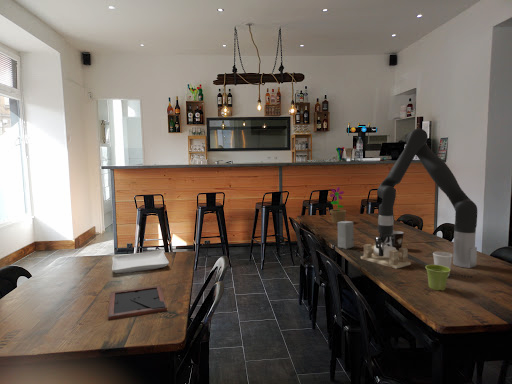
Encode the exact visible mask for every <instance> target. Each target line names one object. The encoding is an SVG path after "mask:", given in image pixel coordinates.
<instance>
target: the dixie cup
mask: <svg viewBox="0 0 512 384" xmlns="http://www.w3.org/2000/svg"><path fill="white" fill-rule="evenodd" d="M432 256H433V265H441V266H445V267H448V268H450V269H451V267H452V263H453V253H451V252H447V251H434V252H432ZM450 273H451V271H450V272H449V274H448V277H449V276H450Z"/></svg>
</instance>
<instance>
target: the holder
mask: <svg viewBox="0 0 512 384" xmlns="http://www.w3.org/2000/svg"><path fill="white" fill-rule="evenodd" d="M375 245H376V243H375V242H373V243H372V244H371V243H367V244H363V255H362V256H361V255H360V259H361V260H365V261H368V262H371V263H373V264H378V265H381V266H385V267H388V268H393V269H400V268H403V267H407V266H410V265H411V264H412V262H411V261H408V251H409V250H408V249H409V248H406V247H401V248H399V250H391V251H389V258H387V257H381V256H379V255H375V254H374V251H372V246H375ZM398 252H401V253H402V254H403V255H402V257H401V258H400V257H398Z"/></svg>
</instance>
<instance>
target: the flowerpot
mask: <svg viewBox="0 0 512 384" xmlns="http://www.w3.org/2000/svg"><path fill="white" fill-rule="evenodd" d="M340 189H341V188H340V187H339V186H338V187H336V190H335V189H334V188H331V189H330V190H331V192H332V193H331V194H330V195H329V198H330V197H331V198H333V197H334V198H333V201H331V202H330V204H331V205H334V206H335V205H337V208H336V209H330V210H329V214H330V216H331V217H330V218H331V223H332V224H337V225H338V223H337V222H341V221H346V220H345V219H346V214H347V212H348V211H347V209H341V208H344V205H341V204H339V203H340V200H343V197H342V196H341V195H344V193H345V192H344V191H343V190H342V191H340Z"/></svg>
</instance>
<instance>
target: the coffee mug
mask: <svg viewBox="0 0 512 384" xmlns="http://www.w3.org/2000/svg"><path fill="white" fill-rule="evenodd" d="M391 234H394V235H396V236H395V245H394V246H392V247H394V248H396V250H397V251H399V248H403V247H402V246H403V239H404V231H400V230H393V233H391ZM392 243H393V241H392Z"/></svg>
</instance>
